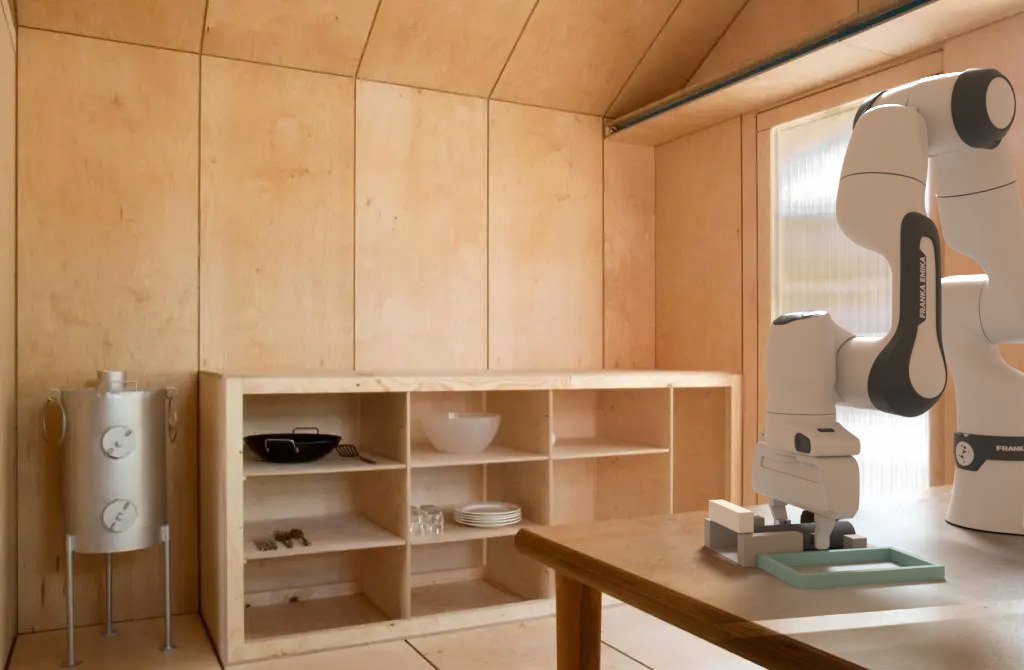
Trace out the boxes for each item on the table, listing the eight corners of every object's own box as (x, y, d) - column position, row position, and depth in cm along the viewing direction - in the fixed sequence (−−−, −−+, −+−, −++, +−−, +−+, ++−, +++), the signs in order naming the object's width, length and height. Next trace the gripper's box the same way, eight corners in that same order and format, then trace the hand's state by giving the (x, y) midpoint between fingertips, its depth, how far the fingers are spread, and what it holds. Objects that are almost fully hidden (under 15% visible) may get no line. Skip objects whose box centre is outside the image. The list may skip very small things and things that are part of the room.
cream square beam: (722, 518, 115) (722, 499, 115) (753, 532, 106) (753, 512, 106) (708, 518, 114) (708, 500, 114) (738, 533, 106) (738, 512, 106)
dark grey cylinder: (840, 544, 116) (840, 518, 116) (856, 550, 112) (856, 524, 112) (745, 550, 113) (745, 523, 113) (758, 557, 109) (758, 529, 109)
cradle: (849, 545, 120) (849, 510, 120) (901, 565, 109) (901, 527, 109) (704, 554, 115) (704, 518, 115) (743, 576, 105) (743, 537, 105)
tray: (891, 566, 109) (891, 546, 109) (944, 588, 100) (944, 566, 100) (757, 575, 105) (757, 554, 105) (800, 599, 95) (799, 576, 95)
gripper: (740, 426, 122) (740, 524, 122) (822, 444, 102) (822, 560, 102) (780, 425, 123) (780, 522, 123) (869, 442, 103) (869, 557, 103)
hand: (800, 539), depth 112 cm, fingers open, 8 cm apart
